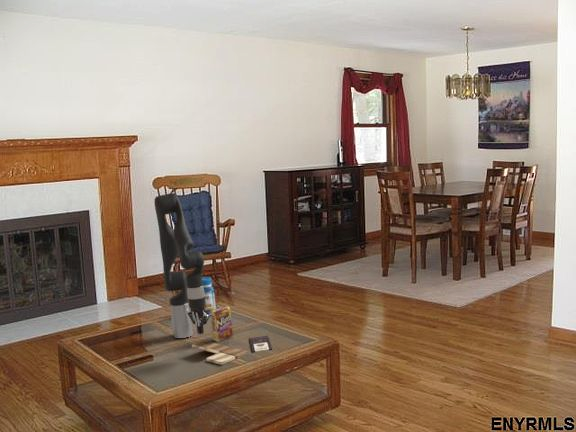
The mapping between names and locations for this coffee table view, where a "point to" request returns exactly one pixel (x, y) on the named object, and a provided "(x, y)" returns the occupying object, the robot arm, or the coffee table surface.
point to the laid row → (227, 350)
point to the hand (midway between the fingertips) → (200, 333)
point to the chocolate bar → (260, 344)
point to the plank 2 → (220, 358)
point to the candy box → (221, 323)
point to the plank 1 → (205, 348)
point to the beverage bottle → (209, 295)
